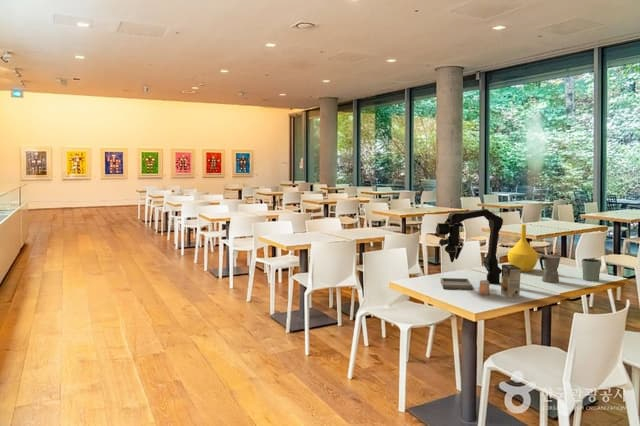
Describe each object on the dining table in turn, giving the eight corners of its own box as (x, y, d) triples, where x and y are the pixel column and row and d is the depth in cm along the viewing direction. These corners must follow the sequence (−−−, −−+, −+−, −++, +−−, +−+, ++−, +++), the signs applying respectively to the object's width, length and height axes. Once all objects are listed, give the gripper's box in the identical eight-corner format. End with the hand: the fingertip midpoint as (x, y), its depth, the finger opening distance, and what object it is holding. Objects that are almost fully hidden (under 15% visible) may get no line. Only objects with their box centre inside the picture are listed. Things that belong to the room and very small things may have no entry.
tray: (467, 282, 293) (467, 278, 292) (471, 289, 277) (471, 285, 277) (440, 282, 295) (440, 278, 294) (443, 288, 279) (443, 284, 279)
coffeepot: (552, 278, 301) (554, 249, 299) (565, 282, 292) (566, 252, 290) (532, 280, 296) (534, 251, 294) (544, 284, 287) (546, 254, 285)
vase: (543, 272, 317) (545, 226, 314) (518, 274, 313) (520, 227, 309) (525, 266, 334) (527, 222, 331) (501, 268, 330) (502, 223, 327)
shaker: (488, 292, 270) (488, 280, 270) (489, 295, 266) (490, 282, 265) (478, 292, 271) (478, 280, 270) (480, 295, 266) (480, 282, 266)
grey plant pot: (604, 281, 294) (605, 261, 292) (590, 282, 291) (591, 262, 289) (590, 277, 303) (591, 258, 302) (577, 278, 300) (578, 259, 299)
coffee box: (500, 293, 269) (501, 264, 267) (511, 293, 269) (512, 264, 268) (508, 298, 260) (509, 268, 258) (520, 297, 260) (521, 267, 259)
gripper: (445, 231, 298) (445, 256, 300) (435, 235, 282) (435, 262, 284) (463, 232, 293) (463, 258, 295) (455, 237, 277) (455, 264, 279)
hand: (454, 260), depth 288 cm, fingers open, 9 cm apart
